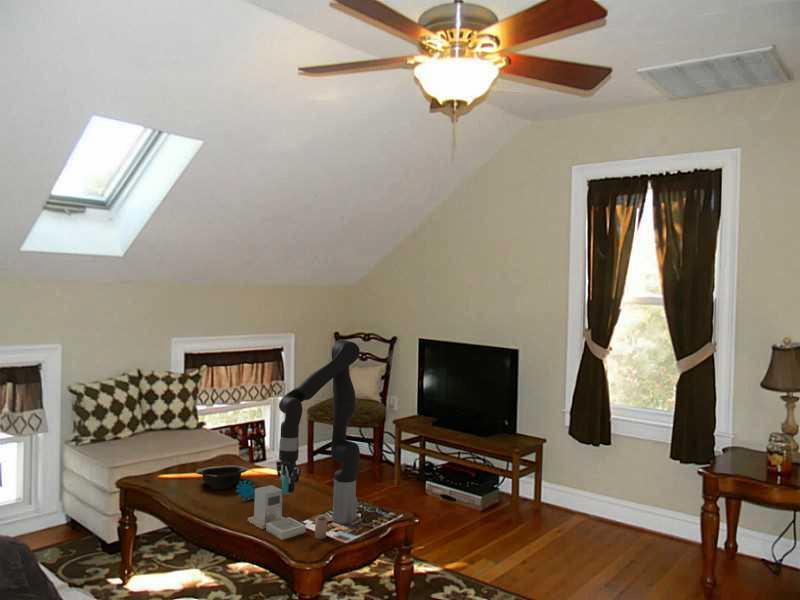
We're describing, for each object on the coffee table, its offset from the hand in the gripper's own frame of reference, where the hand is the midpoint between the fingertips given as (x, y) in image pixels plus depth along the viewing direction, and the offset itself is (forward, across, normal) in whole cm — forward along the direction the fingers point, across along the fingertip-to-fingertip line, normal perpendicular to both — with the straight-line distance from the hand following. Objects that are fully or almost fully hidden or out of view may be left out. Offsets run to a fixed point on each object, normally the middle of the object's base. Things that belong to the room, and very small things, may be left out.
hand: (287, 490), depth 259 cm
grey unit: (+17, -13, 0) cm, 21 cm away
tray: (+17, 0, 0) cm, 17 cm away
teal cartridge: (+1, 0, 0) cm, 1 cm away
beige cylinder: (+17, +12, +8) cm, 22 cm away
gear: (+17, -42, +8) cm, 46 cm away
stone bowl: (+17, -67, +9) cm, 70 cm away
